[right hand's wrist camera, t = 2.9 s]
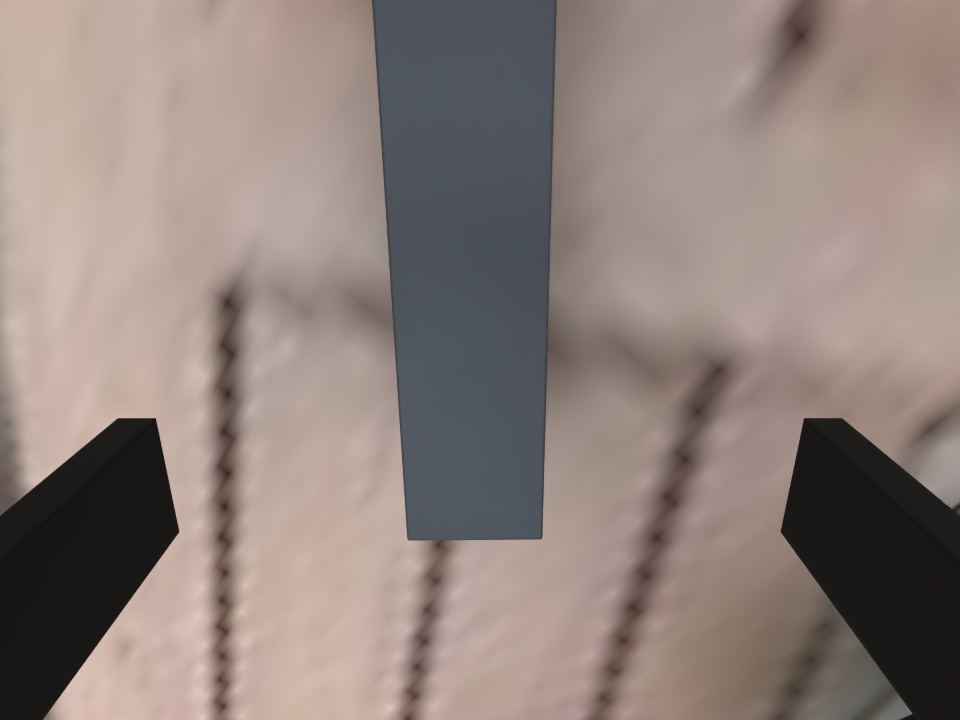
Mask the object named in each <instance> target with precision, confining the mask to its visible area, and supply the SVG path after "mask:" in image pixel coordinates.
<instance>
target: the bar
mask: <svg viewBox="0 0 960 720" xmlns="http://www.w3.org/2000/svg"><path fill="white" fill-rule="evenodd" d="M556 3H557V0H372V6H373V21H374V36H375V52H376V67H377V82H378V98H379V113H380V128H381V143H382V159H383V174H384V189H385V204H386V220H387V235H388V250H389V266H390V281H391V296H392V311H393V327H394V342H395V357H396V372H397V388H398V403H399V418H400V433H401V449H402V464H403V479H404V495H405V510H406V525H407V538H408V540H518V539H542V530H543V493H544V455H545V417H546V380H547V342H548V304H549V267H550V229H551V191H552V154H553V116H554V78H555V41H556Z"/></svg>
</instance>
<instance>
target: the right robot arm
mask: <svg viewBox="0 0 960 720" xmlns="http://www.w3.org/2000/svg"><path fill="white" fill-rule="evenodd" d="M178 533H179V528H178V523H177V518H176V514H175V509H174V504H173V499H172V494H171V489H170V485H169V480H168V475H167V470H166V465H165V460H164V456H163V451H162V446H161V441H160V436H159V431H158V427H157V422H156V418H118V419H117V420H115V421H114V422H113V423H112V424H111V425H109V426H108V427H107V428H106V429H104V430H103V431H102V432H101V433H100V434H98V435H97V436H96V437H95V438H94V439H92V440H91V441H90V442H89V443H88V444H86V445H85V446H84V447H83V448H82V449H80V450H79V451H78V452H77V453H76V454H74V455H73V456H72V457H71V458H70V459H68V460H67V461H66V462H65V463H63V464H62V465H61V466H60V467H59V468H57V469H56V470H55V471H54V472H53V473H51V474H50V475H49V476H48V477H47V478H45V479H44V480H43V481H42V482H41V483H39V484H38V485H37V486H36V487H35V488H33V489H32V490H31V491H30V492H28V493H27V494H26V495H25V496H24V497H22V498H21V499H20V500H19V501H18V502H16V503H15V504H14V505H13V506H12V507H10V508H9V509H8V510H7V511H6V512H4V513H3V514H2V515H1V516H0V720H43V719H44V717H45V716H46V715H47V713H48V712H49V711H50V709H51V708H52V706H53V705H54V704H55V702H56V701H57V700H58V698H59V697H60V695H61V694H62V693H63V691H64V690H65V689H66V687H67V686H68V684H69V683H70V682H71V680H72V679H73V678H74V676H75V675H76V673H77V672H78V671H79V669H80V668H81V667H82V665H83V664H84V662H85V661H86V660H87V658H88V657H89V656H90V654H91V653H92V651H93V650H94V649H95V647H96V646H97V645H98V643H99V642H100V640H101V639H102V638H103V636H104V635H105V634H106V632H107V631H108V629H109V628H110V627H111V625H112V624H113V623H114V621H115V620H116V618H117V617H118V616H119V614H120V613H121V612H122V610H123V609H124V607H125V606H126V605H127V603H128V602H129V601H130V599H131V598H132V596H133V595H134V594H135V592H136V591H137V589H138V588H139V587H140V585H141V584H142V583H143V581H144V580H145V578H146V577H147V576H148V574H149V573H150V572H151V570H152V569H153V567H154V566H155V565H156V563H157V562H158V561H159V559H160V558H161V556H162V555H163V554H164V552H165V551H166V550H167V548H168V547H169V545H170V544H171V543H172V541H173V540H174V539H175V537H176V536H177V534H178ZM781 533H782V534H783V536H784V537H785V539H786V540H787V541H788V543H789V544H790V545H791V547H792V548H793V550H794V551H795V552H796V554H797V555H798V556H799V558H800V559H801V561H802V562H803V563H804V565H805V566H806V567H807V569H808V570H809V572H810V573H811V574H812V576H813V577H814V578H815V580H816V581H817V583H818V584H819V585H820V587H821V588H822V589H823V591H824V592H825V594H826V595H827V596H828V598H829V599H830V601H831V602H832V603H833V605H834V606H835V607H836V609H837V610H838V612H839V613H840V614H841V616H842V617H843V618H844V620H845V621H846V623H847V624H848V625H849V627H850V628H851V629H852V631H853V632H854V634H855V635H856V636H857V638H858V639H859V640H860V642H861V643H862V645H863V646H864V647H865V649H866V650H867V651H868V653H869V654H870V656H871V657H872V658H873V660H874V661H875V662H876V664H877V665H878V667H879V668H880V669H881V671H882V672H883V673H884V675H885V676H886V678H887V679H888V680H889V682H890V683H891V684H892V686H893V687H894V689H895V690H896V691H897V693H898V694H899V695H900V697H901V698H902V700H903V701H904V702H905V704H906V705H907V706H908V708H909V709H910V711H911V712H912V713H913V714H911V715H909V716H907V717H904V718H902V719H900V720H960V509H958V510H957V511H955V512H954V511H953V510H952V509H951V508H950V507H948V506H947V505H946V504H945V503H944V502H942V501H941V500H940V499H939V498H938V497H936V496H935V495H934V494H933V493H932V492H930V491H929V490H928V489H927V488H925V487H924V486H923V485H922V484H921V483H919V482H918V481H917V480H916V479H915V478H913V477H912V476H911V475H910V474H909V473H907V472H906V471H905V470H904V469H903V468H901V467H900V466H899V465H898V464H897V463H895V462H894V461H893V460H892V459H890V458H889V457H888V456H887V455H886V454H884V453H883V452H882V451H881V450H880V449H878V448H877V447H876V446H875V445H874V444H872V443H871V442H870V441H869V440H868V439H866V438H865V437H864V436H863V435H862V434H860V433H859V432H858V431H857V430H856V429H854V428H853V427H852V426H851V425H849V424H848V423H847V422H846V421H845V420H843V419H842V418H804V422H803V427H802V431H801V436H800V441H799V446H798V451H797V456H796V460H795V465H794V470H793V475H792V480H791V485H790V489H789V494H788V499H787V504H786V509H785V514H784V518H783V523H782V528H781Z"/></svg>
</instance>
